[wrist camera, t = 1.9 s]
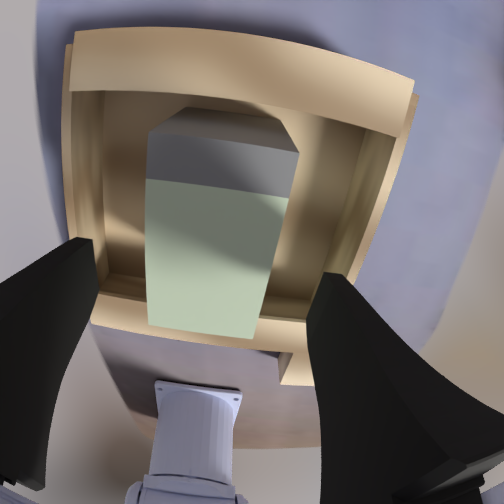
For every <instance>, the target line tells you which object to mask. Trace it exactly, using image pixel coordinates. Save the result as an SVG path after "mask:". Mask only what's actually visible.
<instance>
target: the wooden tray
mask: <svg viewBox="0 0 504 504" xmlns="http://www.w3.org/2000/svg"><path fill="white" fill-rule="evenodd" d="M414 82H415V81H414V80H412V79H410V78H407V77H405V76H402V75H400V74H397V73H395V72H392V71H389V70H387V69H384V68H381V67H379V66H376V65H373V64H370V63H367V62H364V61H361V60H358V59H355V58H352V57H348V56H345V55H342V54H338V53H335V52H331V51H327V50H324V49H320V48H316V47H312V46H308V45H303V44H299V43H295V42H290V41H285V40H280V39H275V38H270V37H264V36H258V35H251V34H245V33H237V32H229V31H220V30H210V29H198V28H181V27H122V28H105V29H93V30H84V31H75V36H74V43H73V44H67V45H66V51H65V60H64V71H63V86H62V110H61V145H62V170H63V185H64V196H65V207H66V216H67V224H68V231H69V238H70V240H71V239H73V238H75V237H82V238H88V239H93V246H94V255H95V262H96V270H97V276H98V283H99V289H100V290H99V293H98V296H97V299H96V302H95V305H94V308H93V311H92V314H91V316H90V319H91V323H92V324H95V325H100V326H105V327H110V328H114V329H119V330H124V331H130V332H135V333H140V334H146V335H152V336H157V337H163V338H170V339H176V340H182V341H189V342H196V343H203V344H211V345H219V346H227V347H236V348H245V349H255V350H265V351H277V352H289V353H304V354H309V353H308V348H307V335H306V317H307V314H308V312H309V309H310V307H311V304H312V301H313V299H314V296H315V294H316V291H317V288H318V286H319V283H320V280H321V278H322V275H323V272H331V273H338V274H342V275H343V276H344V277H345V278H346V279H347V280H348V281H349V282H350V283H351V284H352V285H353V284H354V282H355V280H356V278H357V275H358V273H359V271H360V268H361V266H362V264H363V261H364V259H365V256H366V254H367V251H368V249H369V247H370V244H371V242H372V239H373V237H374V234H375V231H376V229H377V226H378V224H379V221H380V218H381V216H382V213H383V210H384V208H385V205H386V202H387V199H388V197H389V194H390V191H391V188H392V185H393V182H394V179H395V176H396V173H397V170H398V167H399V164H400V161H401V158H402V155H403V152H404V148H405V145H406V142H407V139H408V135H409V132H410V128H411V125H412V121H413V118H414V114H415V110H416V107H417V103H418V99H419V95H417V94H414V93H412V90H413V86H414ZM185 107H194V108H203V109H211V110H219V111H227V112H234V113H241V114H247V115H253V116H259V117H265V118H271V119H276V120H281V122H282V123H283V125H284V127H285V128H286V130H287V132H288V134H289V135H290V137H291V139H292V140H293V142H294V144H295V146H296V147H297V149H298V151H299V153H300V154H299V159H298V163H297V167H296V171H295V175H294V180H293V184H292V188H291V192H290V196H289V200H288V204H287V208H286V212H285V217H284V221H283V225H282V229H281V233H280V237H279V241H278V245H277V248H276V252H275V256H274V260H273V264H272V268H271V272H270V276H269V280H268V284H267V287H266V291H265V295H264V299H263V303H262V307H261V310H260V314H259V318H258V322H257V325H256V329H255V333H254V337H253V339H245V338H237V337H228V336H220V335H212V334H205V333H197V332H190V331H184V330H177V329H171V328H164V327H158V326H152V325H148V311H147V293H146V269H145V187H146V163H147V146H148V132H149V131H151V130H152V129H154V128H155V127H156V126H158V125H159V124H161V123H162V122H164V121H165V120H167V119H168V118H170V117H171V116H173V115H174V114H176V113H177V112H179V111H180V110H182V109H183V108H185Z"/></svg>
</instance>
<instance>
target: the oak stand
mask: <svg viewBox="0 0 504 504" xmlns="http://www.w3.org/2000/svg"><path fill="white" fill-rule="evenodd" d="M278 368H279V381H280V385H301V386H315V385H314V380H313V374H312V369H311V364H310V359H309V354H304V353H289V352H280V354H279V357H278Z"/></svg>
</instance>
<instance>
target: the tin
mask: <svg viewBox="0 0 504 504" xmlns="http://www.w3.org/2000/svg"><path fill="white" fill-rule="evenodd" d="M299 154H300V153H299V151H298V149H297V147H296V146H295V144H294V142H293V140H292V139H291V137H290V135H289V134H288V132H287V130H286V128H285V127H284V125H283V123H282V122H281V120H276V119H271V118H265V117H259V116H253V115H247V114H241V113H234V112H227V111H219V110H211V109H203V108H194V107H185V108H183V109H182V110H180V111H179V112H177V113H176V114H174V115H173V116H171V117H170V118H168V119H167V120H165V121H164V122H162V123H161V124H159V125H158V126H156V127H155V128H154V129H152V130H151V131H149V132H148V146H147V163H146V187H145V269H146V293H147V311H148V325H152V326H158V327H164V328H171V329H177V330H184V331H190V332H197V333H205V334H212V335H220V336H228V337H237V338H245V339H253V337H254V333H255V329H256V325H257V322H258V318H259V314H260V310H261V307H262V303H263V299H264V295H265V291H266V287H267V284H268V280H269V276H270V272H271V268H272V264H273V260H274V256H275V252H276V248H277V245H278V241H279V237H280V233H281V229H282V225H283V221H284V217H285V212H286V208H287V204H288V200H289V196H290V192H291V188H292V184H293V180H294V175H295V171H296V167H297V163H298V159H299Z"/></svg>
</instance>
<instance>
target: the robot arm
mask: <svg viewBox="0 0 504 504" xmlns="http://www.w3.org/2000/svg"><path fill="white" fill-rule="evenodd" d="M99 290H100V289H99V283H98V276H97V270H96V262H95V255H94V246H93V239H88V238H82V237H75V238H73V239H71V240H69V241H67V242H65V243H64V244H62V245H60V246H59V247H57V248H55V249H54V250H52V251H51V252H49V253H48V254H46V255H44V256H43V257H41V258H40V259H38V260H36V261H35V262H34V263H32V264H30V265H29V266H27V267H26V268H24V269H23V270H21V271H19V272H18V273H16V274H14V275H13V276H11V277H10V278H8V279H6V280H5V281H3V282H2V283H0V504H38V503H36V502H34V501H31V500H29V499H27V498H25V497H23V496H21V495H19V494H17V493H15V492H13V491H11V490H9V489H7V488H5V487H4V486H3V482H4V481H6V482H8V483H10V484H12V485H13V486H14V485H15V484H16V482H17V483H20V484H22V485H24V486H26V487H28V488H30V489H32V490H35V491H39V490H42V489H43V488H45V472H46V456H47V448H48V440H49V433H50V427H51V422H52V417H53V412H54V408H55V404H56V400H57V396H58V392H59V389H60V385H61V382H62V379H63V376H64V373H65V371H66V368H67V366H68V364H69V362H70V359H71V357H72V355H73V353H74V350H75V348H76V346H77V344H78V342H79V340H80V337H81V335H82V333H83V331H84V329H85V327H86V325H87V323H88V321H89V318H90V316H91V314H92V311H93V308H94V305H95V302H96V299H97V296H98V293H99ZM306 335H307V348H308V353H309V359H310V364H311V369H312V374H313V380H314V385H315V390H316V396H317V401H318V407H319V415H320V429H321V460H322V463H321V467H322V468H321V495H320V504H504V482H502V483H500V484H499V485H497V486H495V487H493V488H491V489H489V490H487V491H486V492H483V493H481V494H480V490H479V487H480V486H482V485H484V483H485V481H484V478H483V474H484V473H486V472H487V471H489V470H491V469H492V468H494V467H495V466H497V465H498V464H500V463H501V462H503V461H504V414H502V413H500V412H498V411H496V410H494V409H492V408H490V407H489V406H487V405H485V404H483V403H482V402H480V401H478V400H477V399H475V398H474V397H472V396H471V395H469V394H467V393H466V392H464V391H463V390H462V389H460V388H459V387H457V386H456V385H454V384H453V383H452V382H450V381H449V380H448V379H446V378H445V377H444V376H443V375H441V374H440V373H438V372H437V371H436V370H435V369H434V368H433V367H431V366H430V365H429V364H428V363H427V362H426V361H425V360H423V359H422V358H421V357H420V356H419V355H418V354H417V353H416V352H414V351H413V350H412V349H411V348H410V347H409V346H408V345H407V344H406V343H405V342H404V341H403V340H402V339H401V338H400V337H399V336H398V335H397V334H396V333H395V332H394V331H393V330H392V329H391V327H390V326H389V325H388V324H387V323H386V322H385V321H384V320H383V319H382V318H381V317H380V315H379V314H378V313H377V312H376V311H375V310H374V309H373V308H372V306H371V305H370V304H369V303H368V302H367V301H366V300H365V298H364V297H363V296H362V295H361V294H360V293H359V292H358V291H357V289H356V288H355V287H354V286H353V285H352V284H351V283H350V282H349V281H348V280H347V279H346V278H345V277H344V276H343V275H342V274H338V273H331V272H323V275H322V278H321V280H320V283H319V286H318V288H317V291H316V294H315V296H314V299H313V301H312V304H311V307H310V309H309V312H308V314H307V317H306ZM155 393H156V401H157V408H158V414H159V415H158V421H157V426H156V432H155V438H154V444H153V450H152V457H151V463H150V469H149V475H144V482H140V481H137V482H136V483H135V484H133V485H132V486H130V488H129V489H128V492H127V494H126V498H125V503H124V504H249V503H248V501H247V500H246V499H245V498H244V497H243V496H242V495H241V494H235V486H232V442H233V425H234V422H235V419H236V416H237V413H238V410H239V406H240V403H241V400H242V392H240V391H234V390H225V389H216V388H207V387H199V386H192V385H185V384H179V383H172V382H166V381H160V380H158V381H155Z"/></svg>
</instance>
